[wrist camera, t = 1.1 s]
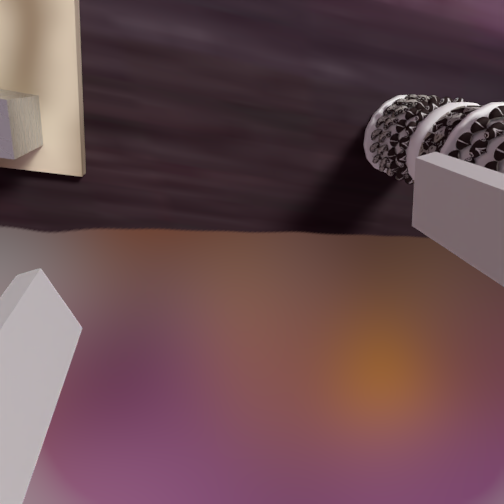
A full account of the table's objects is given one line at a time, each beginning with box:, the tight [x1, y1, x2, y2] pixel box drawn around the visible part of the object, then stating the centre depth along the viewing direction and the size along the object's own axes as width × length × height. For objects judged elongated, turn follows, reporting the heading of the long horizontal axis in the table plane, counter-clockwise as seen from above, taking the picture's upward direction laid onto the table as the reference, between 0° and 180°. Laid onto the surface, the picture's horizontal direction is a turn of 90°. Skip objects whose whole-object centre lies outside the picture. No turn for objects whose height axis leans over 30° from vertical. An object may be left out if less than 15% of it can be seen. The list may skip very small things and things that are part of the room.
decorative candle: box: [363, 94, 504, 184], centre depth 26 cm, size 9×9×25 cm
